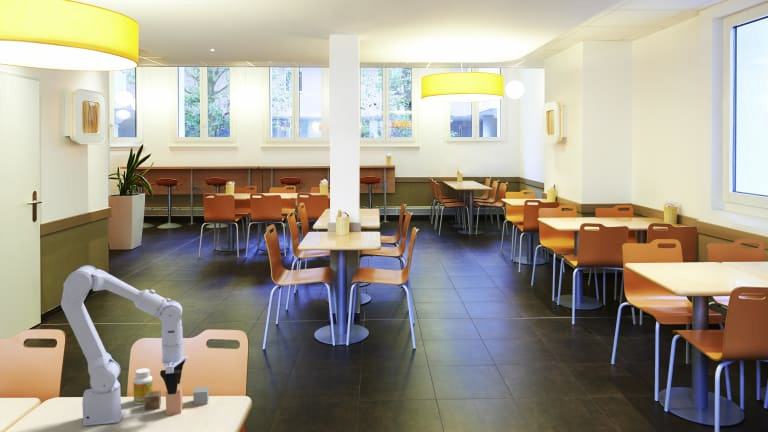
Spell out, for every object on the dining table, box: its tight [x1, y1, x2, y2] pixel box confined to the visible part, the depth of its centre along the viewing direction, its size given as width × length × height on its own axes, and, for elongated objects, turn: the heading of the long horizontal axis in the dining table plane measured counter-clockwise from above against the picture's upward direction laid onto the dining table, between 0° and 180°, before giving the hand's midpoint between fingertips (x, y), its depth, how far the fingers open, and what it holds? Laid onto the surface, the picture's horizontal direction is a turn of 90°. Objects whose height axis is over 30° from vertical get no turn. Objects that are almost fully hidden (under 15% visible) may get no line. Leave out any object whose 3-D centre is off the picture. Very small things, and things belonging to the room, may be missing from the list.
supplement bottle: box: [132, 367, 154, 405], centre depth 170 cm, size 5×5×10 cm
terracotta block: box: [165, 384, 184, 416], centre depth 163 cm, size 4×4×7 cm
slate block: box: [192, 386, 209, 406], centre depth 170 cm, size 4×4×4 cm
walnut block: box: [144, 390, 162, 411], centre depth 166 cm, size 4×4×4 cm
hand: (174, 388), depth 163 cm, fingers open, 7 cm apart
